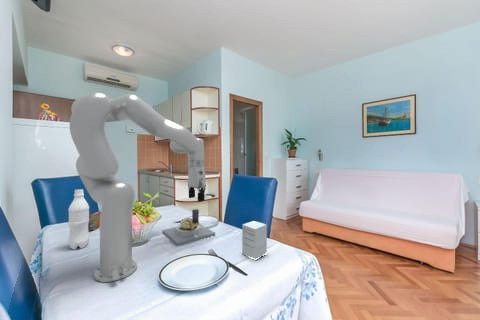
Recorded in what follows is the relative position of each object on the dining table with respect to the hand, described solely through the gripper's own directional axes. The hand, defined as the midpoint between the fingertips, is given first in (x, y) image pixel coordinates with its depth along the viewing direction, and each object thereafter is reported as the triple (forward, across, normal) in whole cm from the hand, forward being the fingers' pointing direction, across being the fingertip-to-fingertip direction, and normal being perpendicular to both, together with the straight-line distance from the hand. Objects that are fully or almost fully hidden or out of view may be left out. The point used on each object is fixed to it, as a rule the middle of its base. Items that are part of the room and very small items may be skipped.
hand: (196, 199), depth 99 cm
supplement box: (+20, -29, -11) cm, 37 cm away
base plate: (+19, +8, +1) cm, 21 cm away
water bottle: (+19, +23, +45) cm, 54 cm away
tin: (+19, +48, +37) cm, 63 cm away
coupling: (+17, +5, +1) cm, 18 cm away
